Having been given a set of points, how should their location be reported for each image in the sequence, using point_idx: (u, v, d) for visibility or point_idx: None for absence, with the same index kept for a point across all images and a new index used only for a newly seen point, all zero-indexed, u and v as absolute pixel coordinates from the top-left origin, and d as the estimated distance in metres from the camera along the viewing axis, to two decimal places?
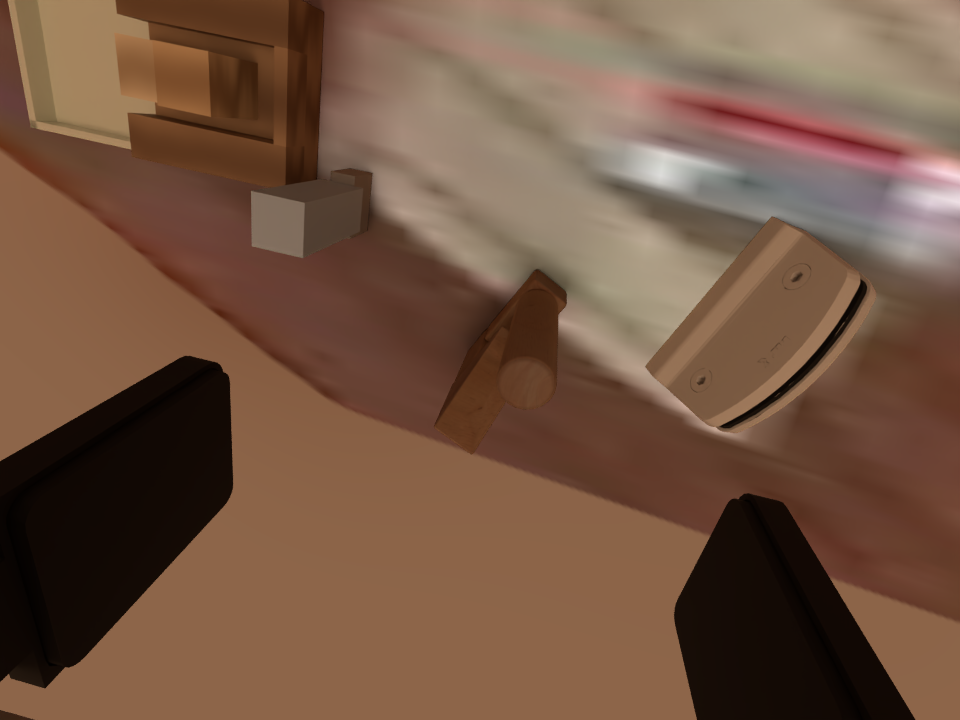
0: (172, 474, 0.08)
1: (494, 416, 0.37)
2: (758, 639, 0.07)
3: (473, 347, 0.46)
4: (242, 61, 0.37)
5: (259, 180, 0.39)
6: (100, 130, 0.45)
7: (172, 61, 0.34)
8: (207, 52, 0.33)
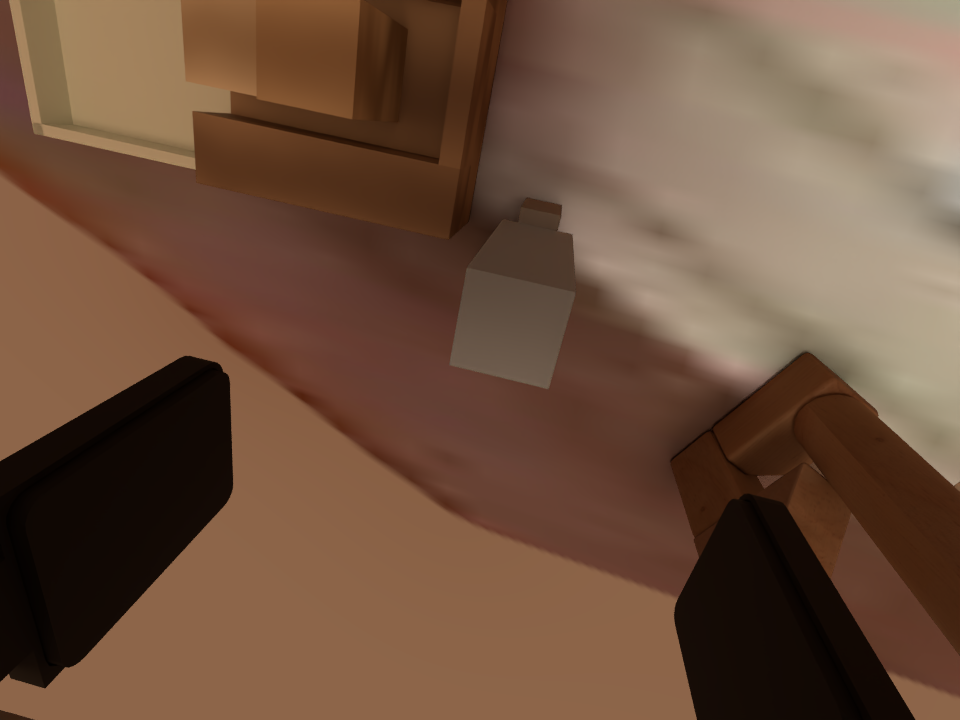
0: (172, 474, 0.08)
1: None
2: (758, 639, 0.07)
3: (692, 462, 0.31)
4: (394, 23, 0.22)
5: (406, 222, 0.24)
6: (139, 137, 0.29)
7: (290, 18, 0.19)
8: (359, 0, 0.18)
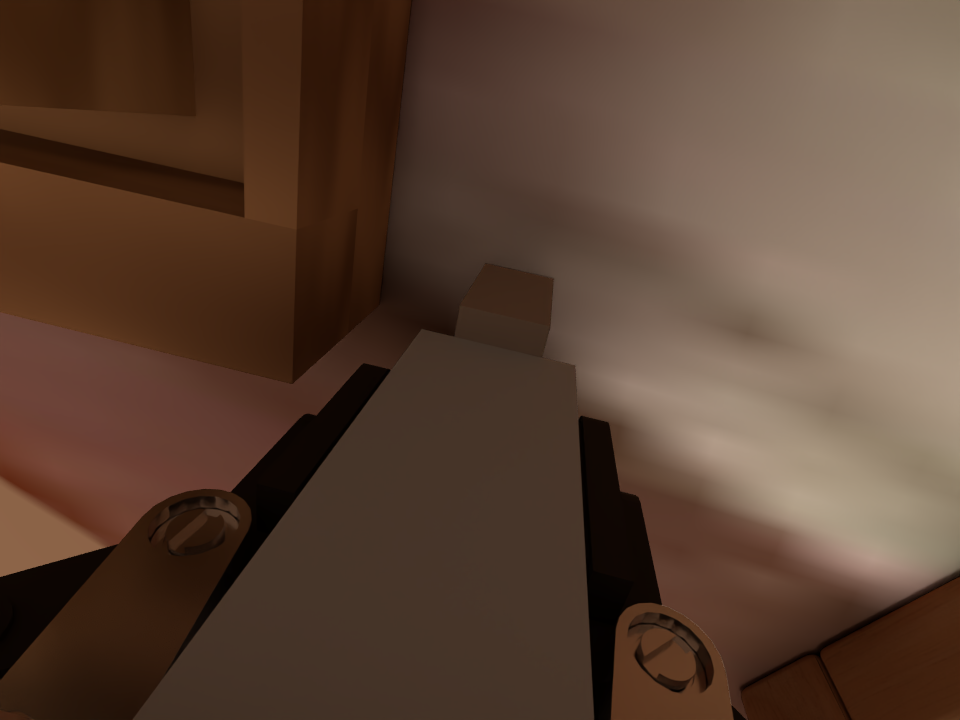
0: None
1: None
2: None
3: None
4: None
5: (195, 345, 0.10)
6: None
7: None
8: None
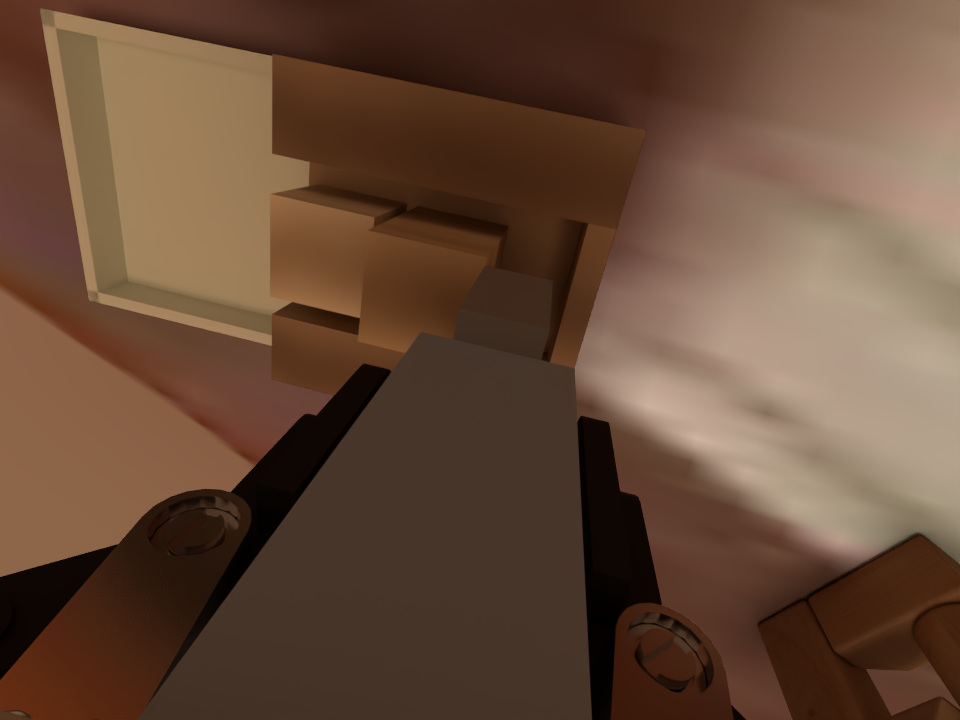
0: None
1: None
2: None
3: (788, 638, 0.29)
4: (502, 237, 0.19)
5: None
6: (198, 298, 0.28)
7: (404, 270, 0.16)
8: (485, 259, 0.16)
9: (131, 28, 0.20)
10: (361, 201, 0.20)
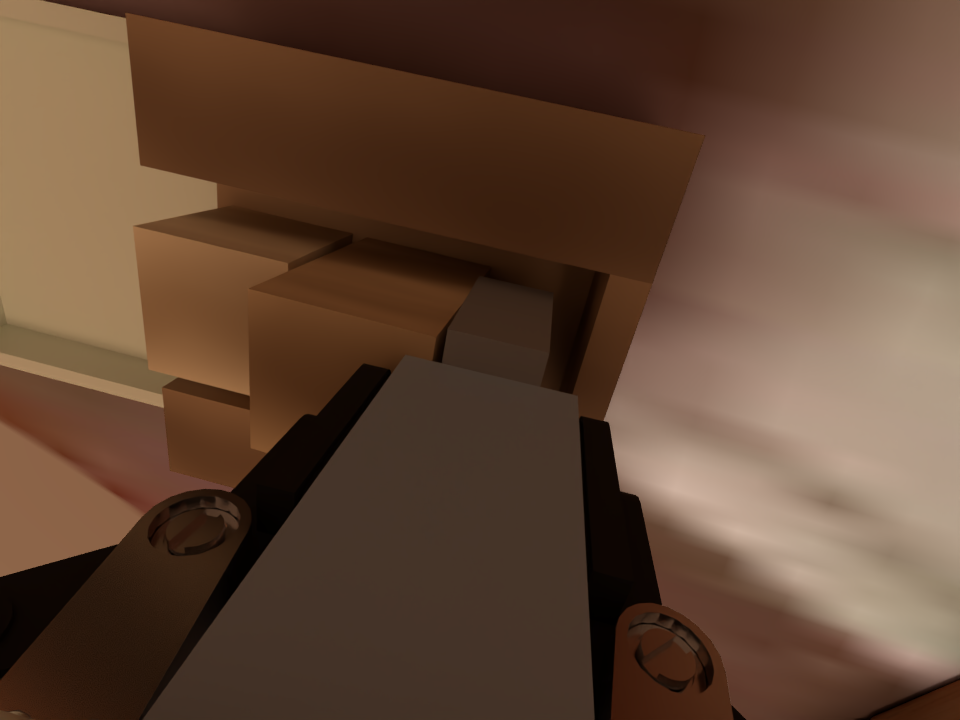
0: None
1: None
2: None
3: None
4: None
5: None
6: (96, 345, 0.21)
7: (308, 351, 0.10)
8: (432, 339, 0.10)
9: None
10: (282, 233, 0.14)
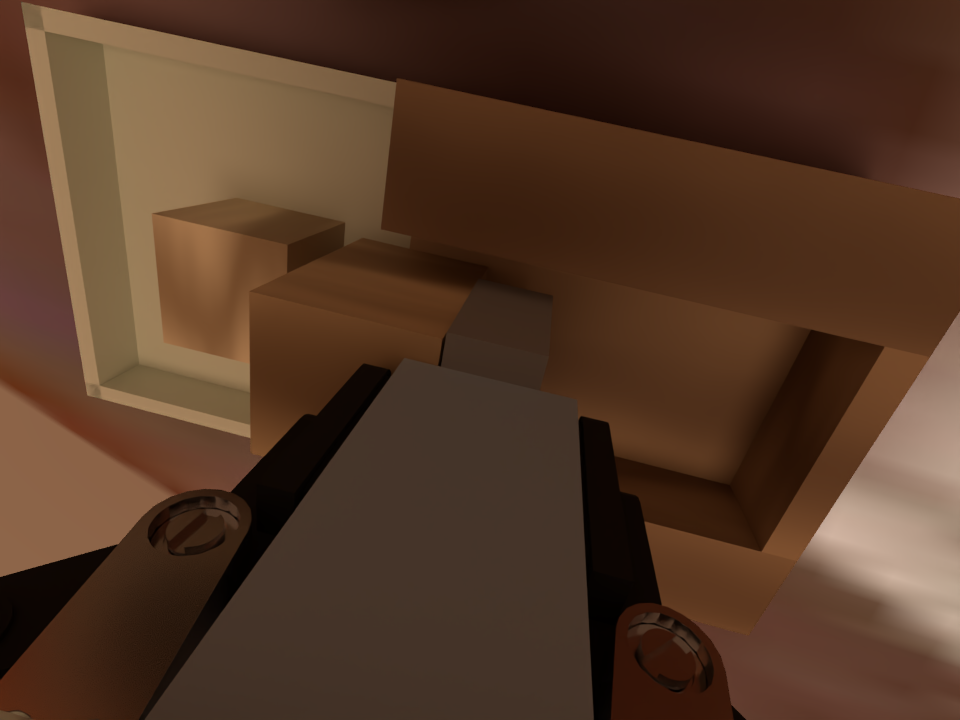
0: None
1: None
2: None
3: None
4: None
5: (684, 609, 0.15)
6: (233, 387, 0.21)
7: (311, 354, 0.10)
8: (439, 341, 0.10)
9: (157, 33, 0.14)
10: (257, 223, 0.15)
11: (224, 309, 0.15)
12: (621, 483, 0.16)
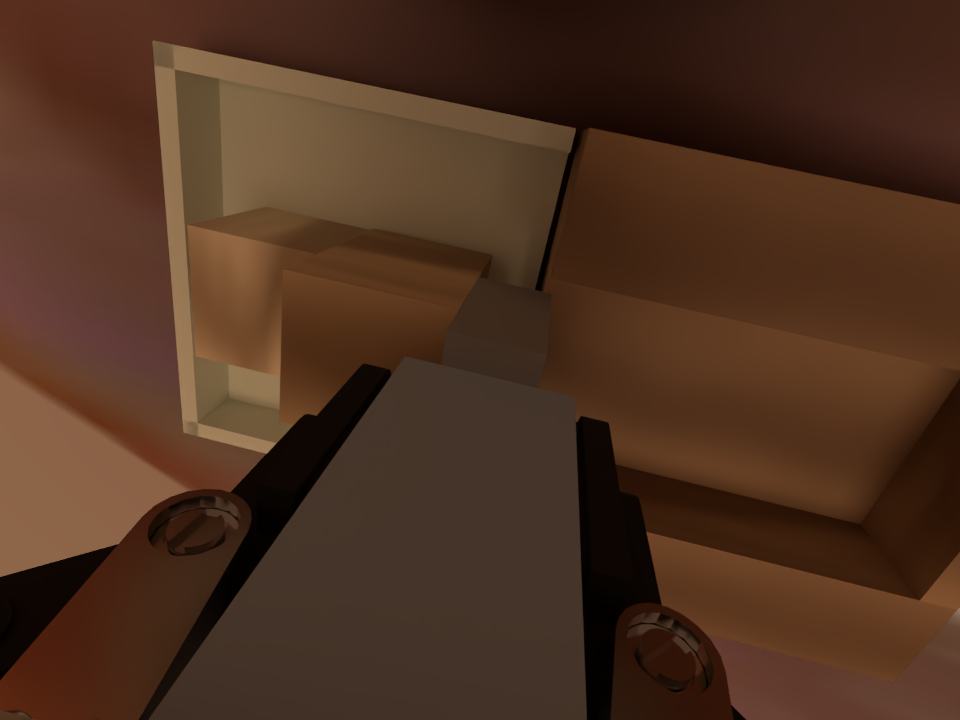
0: None
1: None
2: None
3: None
4: (482, 272, 0.14)
5: (827, 656, 0.15)
6: None
7: (338, 326, 0.11)
8: (455, 312, 0.11)
9: (296, 72, 0.13)
10: (293, 234, 0.15)
11: (260, 322, 0.14)
12: (758, 526, 0.15)
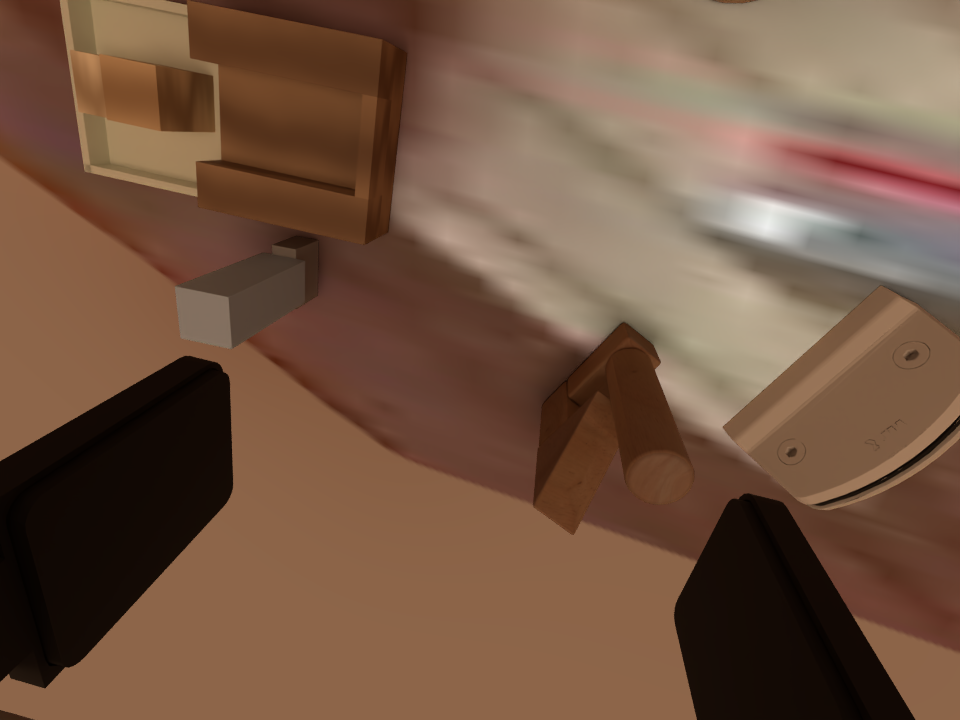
0: (172, 474, 0.08)
1: (594, 491, 0.35)
2: (758, 639, 0.07)
3: (551, 402, 0.44)
4: (195, 74, 0.36)
5: (336, 233, 0.37)
6: (157, 173, 0.42)
7: (120, 75, 0.33)
8: (154, 66, 0.33)
9: None
10: None
11: (101, 92, 0.36)
12: (312, 183, 0.37)
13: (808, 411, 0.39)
